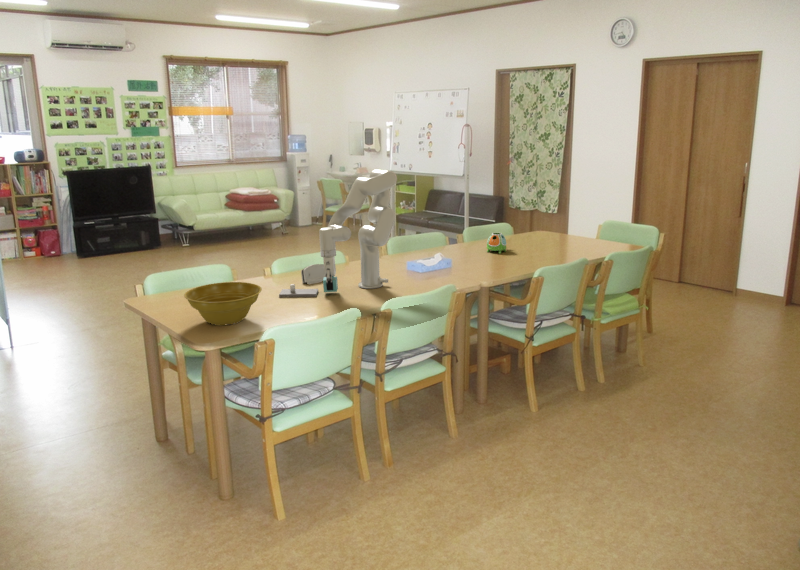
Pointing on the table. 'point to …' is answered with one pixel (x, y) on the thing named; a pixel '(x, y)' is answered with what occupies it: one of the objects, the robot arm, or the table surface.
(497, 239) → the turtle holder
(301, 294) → the base plate
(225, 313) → the planter bowl
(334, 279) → the housing
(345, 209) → the robot arm
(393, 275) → the table surface
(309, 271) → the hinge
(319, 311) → the table surface
